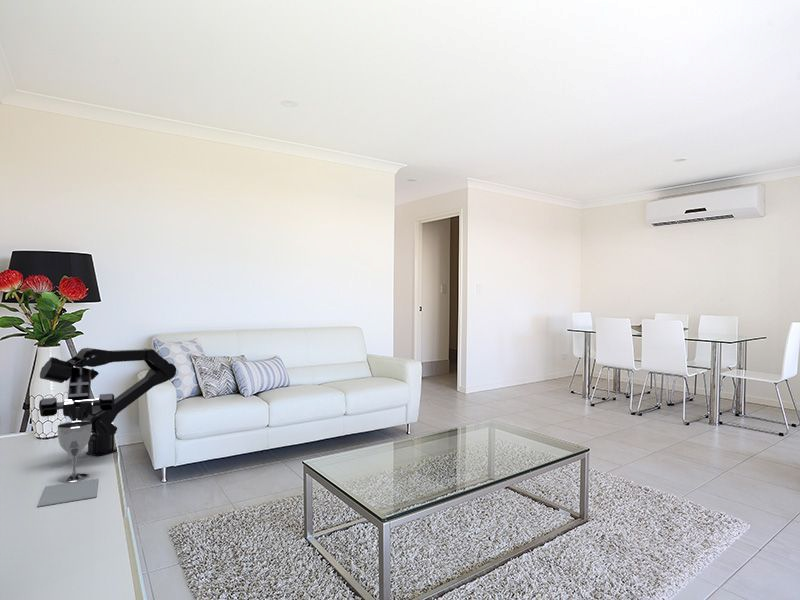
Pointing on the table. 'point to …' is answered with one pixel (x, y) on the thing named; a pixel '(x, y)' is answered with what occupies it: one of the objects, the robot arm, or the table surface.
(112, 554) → the table surface
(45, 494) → the placemat
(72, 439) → the wine glass
